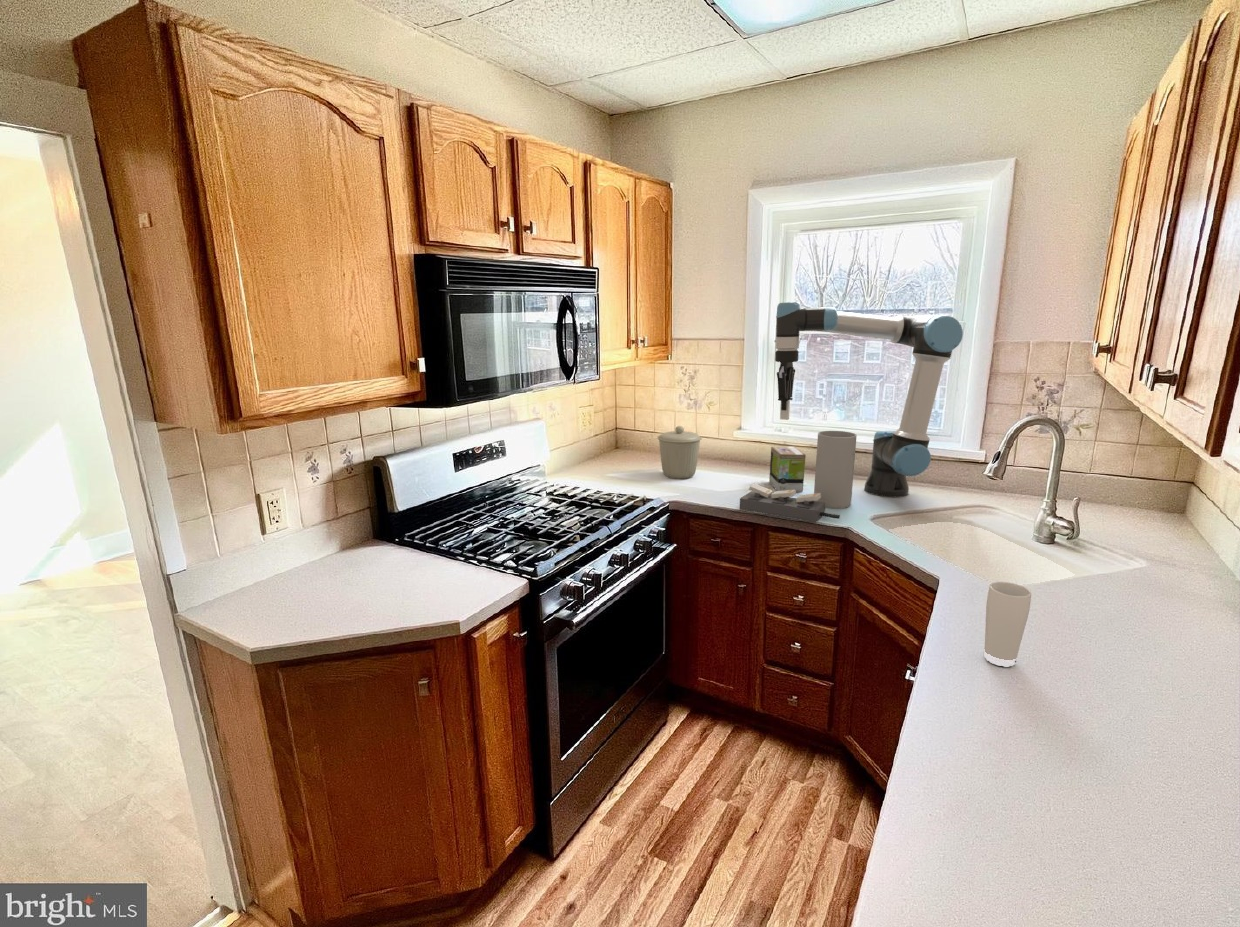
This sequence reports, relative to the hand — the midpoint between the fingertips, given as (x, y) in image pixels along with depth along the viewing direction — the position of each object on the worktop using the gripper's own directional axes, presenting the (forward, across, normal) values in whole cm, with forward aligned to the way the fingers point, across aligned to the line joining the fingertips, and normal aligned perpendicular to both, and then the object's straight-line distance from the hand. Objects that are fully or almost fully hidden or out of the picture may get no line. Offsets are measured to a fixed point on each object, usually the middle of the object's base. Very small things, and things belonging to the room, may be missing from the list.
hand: (784, 419), depth 210 cm
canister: (+30, -14, -48) cm, 58 cm away
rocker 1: (+25, +8, -5) cm, 27 cm away
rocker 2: (+25, +9, +3) cm, 27 cm away
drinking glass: (+30, +79, +68) cm, 109 cm away
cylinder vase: (+30, -7, +16) cm, 35 cm away
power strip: (+30, +11, +6) cm, 32 cm away
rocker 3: (+25, +9, +12) cm, 29 cm away
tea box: (+30, -20, -5) cm, 37 cm away
